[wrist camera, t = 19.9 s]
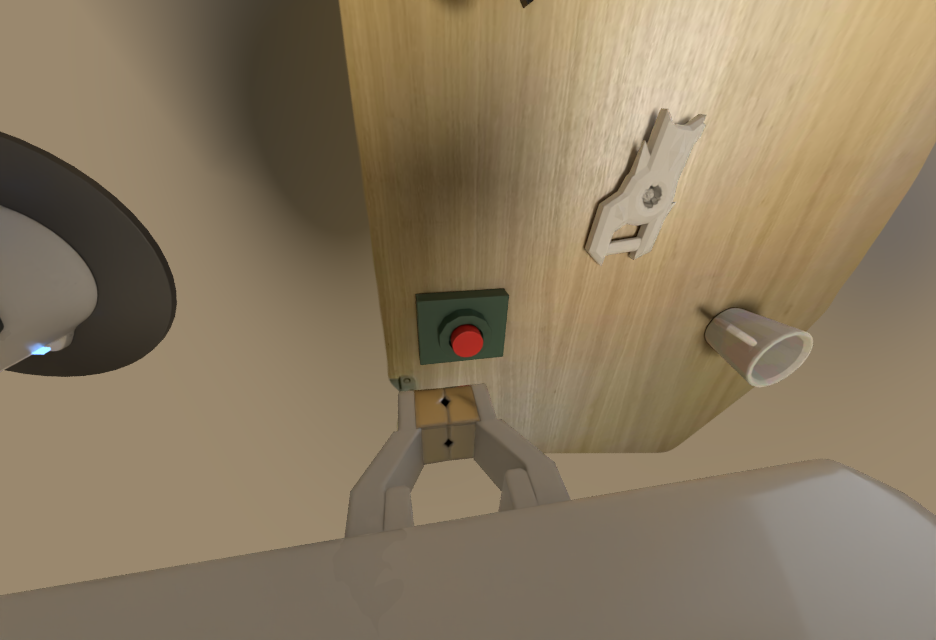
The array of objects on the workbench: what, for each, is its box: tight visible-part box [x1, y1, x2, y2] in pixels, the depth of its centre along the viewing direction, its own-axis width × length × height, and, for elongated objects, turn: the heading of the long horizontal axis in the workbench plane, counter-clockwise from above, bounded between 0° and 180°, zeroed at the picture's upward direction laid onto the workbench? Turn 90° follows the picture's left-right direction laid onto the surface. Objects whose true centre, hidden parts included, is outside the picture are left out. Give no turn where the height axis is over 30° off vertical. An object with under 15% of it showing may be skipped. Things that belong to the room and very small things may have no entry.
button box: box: [416, 289, 509, 365], centre depth 45 cm, size 12×10×4 cm
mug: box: [705, 308, 813, 387], centre depth 53 cm, size 10×15×10 cm
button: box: [451, 325, 483, 357], centre depth 43 cm, size 4×4×2 cm
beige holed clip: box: [585, 108, 706, 266], centre depth 41 cm, size 18×4×10 cm
